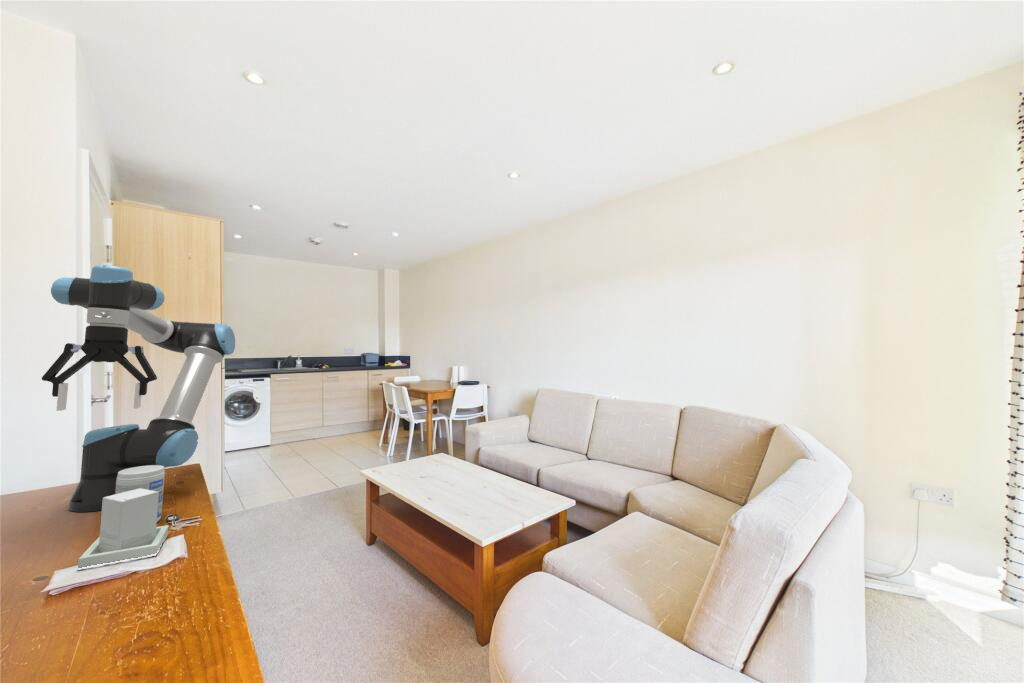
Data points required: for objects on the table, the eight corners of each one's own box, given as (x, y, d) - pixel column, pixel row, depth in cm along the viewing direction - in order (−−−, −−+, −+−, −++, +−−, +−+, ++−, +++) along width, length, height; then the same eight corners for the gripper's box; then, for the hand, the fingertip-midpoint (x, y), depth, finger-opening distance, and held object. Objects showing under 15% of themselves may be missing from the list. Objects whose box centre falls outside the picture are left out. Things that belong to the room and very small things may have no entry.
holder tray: (99, 546, 91) (100, 535, 92) (168, 535, 98) (168, 525, 98) (77, 571, 81) (78, 558, 81) (156, 556, 88) (157, 545, 88)
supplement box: (156, 545, 92) (160, 491, 93) (116, 559, 85) (120, 501, 86) (137, 539, 94) (141, 487, 95) (96, 553, 87) (101, 496, 88)
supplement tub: (156, 527, 102) (161, 471, 103) (106, 535, 97) (111, 476, 98) (164, 514, 110) (168, 462, 111) (118, 521, 105) (122, 466, 106)
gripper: (26, 320, 89) (17, 413, 88) (168, 328, 102) (162, 408, 101) (42, 323, 95) (34, 409, 94) (174, 330, 109) (168, 405, 108)
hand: (100, 409), depth 98 cm, fingers open, 13 cm apart
